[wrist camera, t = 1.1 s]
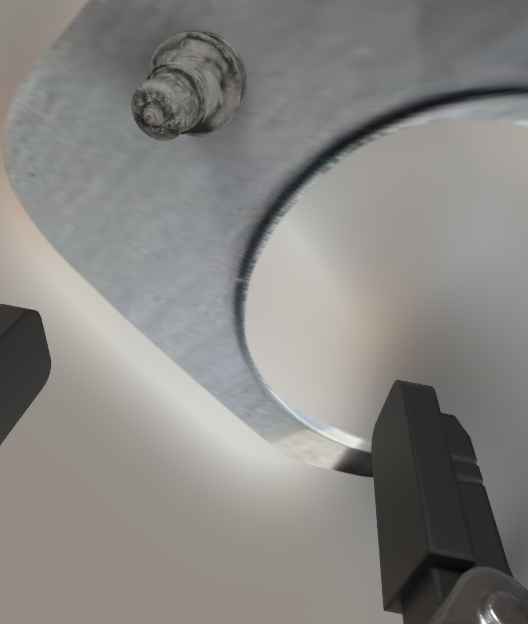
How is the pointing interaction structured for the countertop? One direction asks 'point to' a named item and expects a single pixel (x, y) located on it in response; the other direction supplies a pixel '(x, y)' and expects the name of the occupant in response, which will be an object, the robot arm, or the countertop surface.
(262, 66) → the countertop surface
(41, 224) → the countertop surface
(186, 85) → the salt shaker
